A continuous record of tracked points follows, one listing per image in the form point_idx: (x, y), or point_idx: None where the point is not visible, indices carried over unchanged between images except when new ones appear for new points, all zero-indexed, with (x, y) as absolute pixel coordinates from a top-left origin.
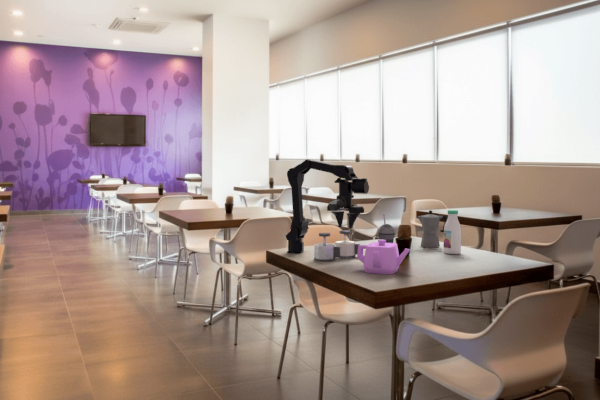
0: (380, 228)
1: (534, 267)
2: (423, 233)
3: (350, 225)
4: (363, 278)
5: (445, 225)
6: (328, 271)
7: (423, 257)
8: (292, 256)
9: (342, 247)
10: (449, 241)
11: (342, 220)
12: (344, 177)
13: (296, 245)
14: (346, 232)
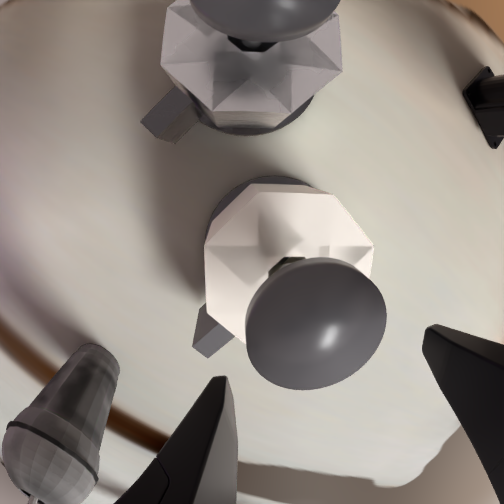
0: (23, 459)
1: (3, 462)
2: None
3: (193, 412)
4: None
5: None
6: (17, 11)
7: (111, 455)
8: (412, 15)
9: (235, 208)
10: None
11: (461, 420)
12: None
13: (498, 85)
14: (251, 314)
